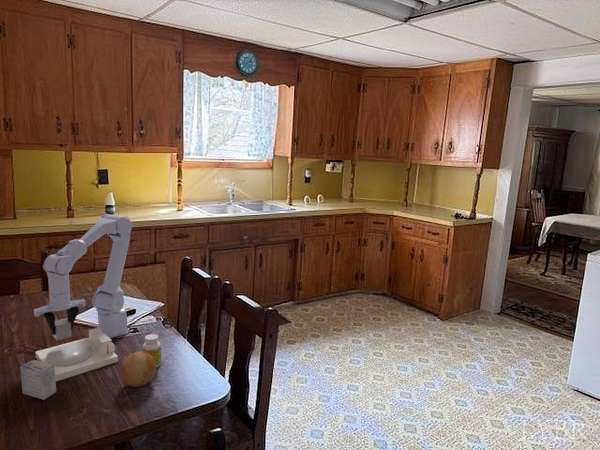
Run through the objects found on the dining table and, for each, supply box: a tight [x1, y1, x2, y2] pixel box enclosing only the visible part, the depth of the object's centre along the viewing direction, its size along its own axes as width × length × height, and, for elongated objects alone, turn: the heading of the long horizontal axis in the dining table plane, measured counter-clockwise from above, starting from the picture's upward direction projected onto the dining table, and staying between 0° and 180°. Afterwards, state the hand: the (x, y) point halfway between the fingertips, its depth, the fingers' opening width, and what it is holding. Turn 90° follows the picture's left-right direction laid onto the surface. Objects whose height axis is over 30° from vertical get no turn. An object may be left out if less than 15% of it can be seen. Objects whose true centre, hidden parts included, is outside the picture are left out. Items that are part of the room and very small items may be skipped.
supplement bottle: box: [142, 333, 162, 368], centre depth 140 cm, size 5×5×10 cm
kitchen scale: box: [35, 327, 119, 382], centre depth 141 cm, size 19×19×6 cm
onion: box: [120, 350, 157, 388], centre depth 129 cm, size 10×10×10 cm
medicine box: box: [19, 359, 57, 401], centre depth 122 cm, size 8×4×9 cm, turn 71°
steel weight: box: [52, 317, 73, 341], centre depth 141 cm, size 4×4×5 cm
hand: (62, 331), depth 141 cm, fingers closed on steel weight, 4 cm apart
